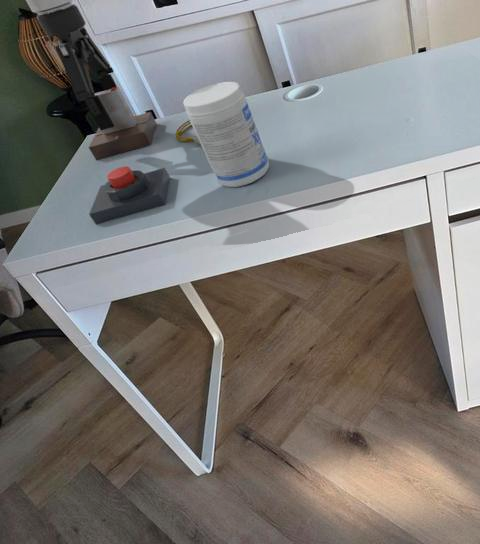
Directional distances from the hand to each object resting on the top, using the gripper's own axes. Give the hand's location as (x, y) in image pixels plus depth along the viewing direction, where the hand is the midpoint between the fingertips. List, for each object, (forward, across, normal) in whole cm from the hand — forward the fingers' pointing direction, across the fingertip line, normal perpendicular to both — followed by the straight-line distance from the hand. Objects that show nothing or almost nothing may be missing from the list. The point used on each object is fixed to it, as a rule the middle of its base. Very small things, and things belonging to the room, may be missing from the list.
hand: (114, 116), depth 105 cm
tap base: (+6, 0, 0) cm, 6 cm away
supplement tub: (+6, -32, -26) cm, 42 cm away
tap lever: (+3, 0, 0) cm, 3 cm away
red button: (+2, -30, -6) cm, 31 cm away
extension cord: (+6, -8, -18) cm, 21 cm away
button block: (+6, -30, -6) cm, 31 cm away
